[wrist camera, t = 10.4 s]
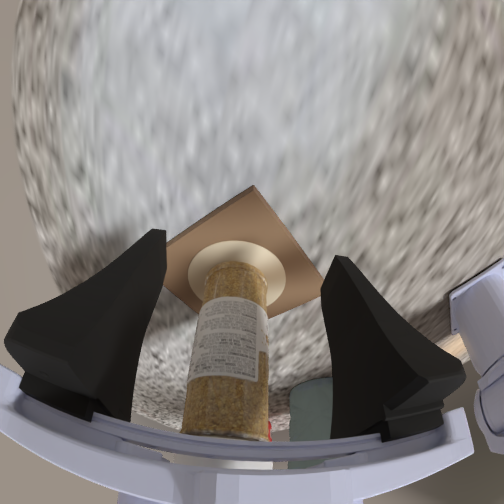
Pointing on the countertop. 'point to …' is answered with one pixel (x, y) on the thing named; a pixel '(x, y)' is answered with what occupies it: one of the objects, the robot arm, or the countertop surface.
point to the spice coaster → (242, 254)
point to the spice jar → (229, 364)
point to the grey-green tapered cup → (311, 415)
